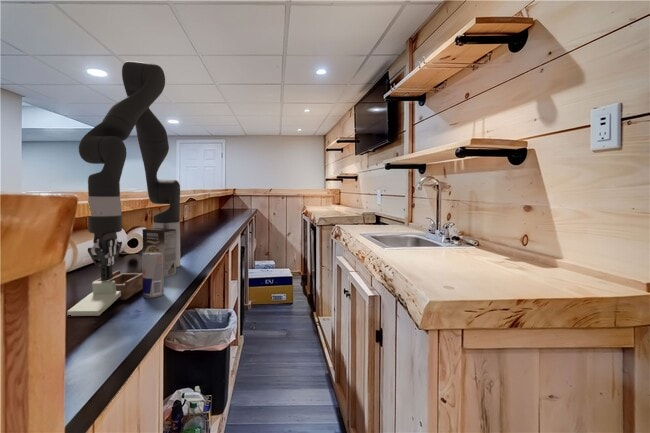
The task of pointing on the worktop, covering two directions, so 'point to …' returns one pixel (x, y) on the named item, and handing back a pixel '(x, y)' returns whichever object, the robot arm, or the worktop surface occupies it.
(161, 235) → the coffee box
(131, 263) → the worktop surface
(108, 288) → the lid
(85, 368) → the worktop surface
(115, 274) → the walnut box
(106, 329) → the worktop surface
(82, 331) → the worktop surface
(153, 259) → the energy drink
